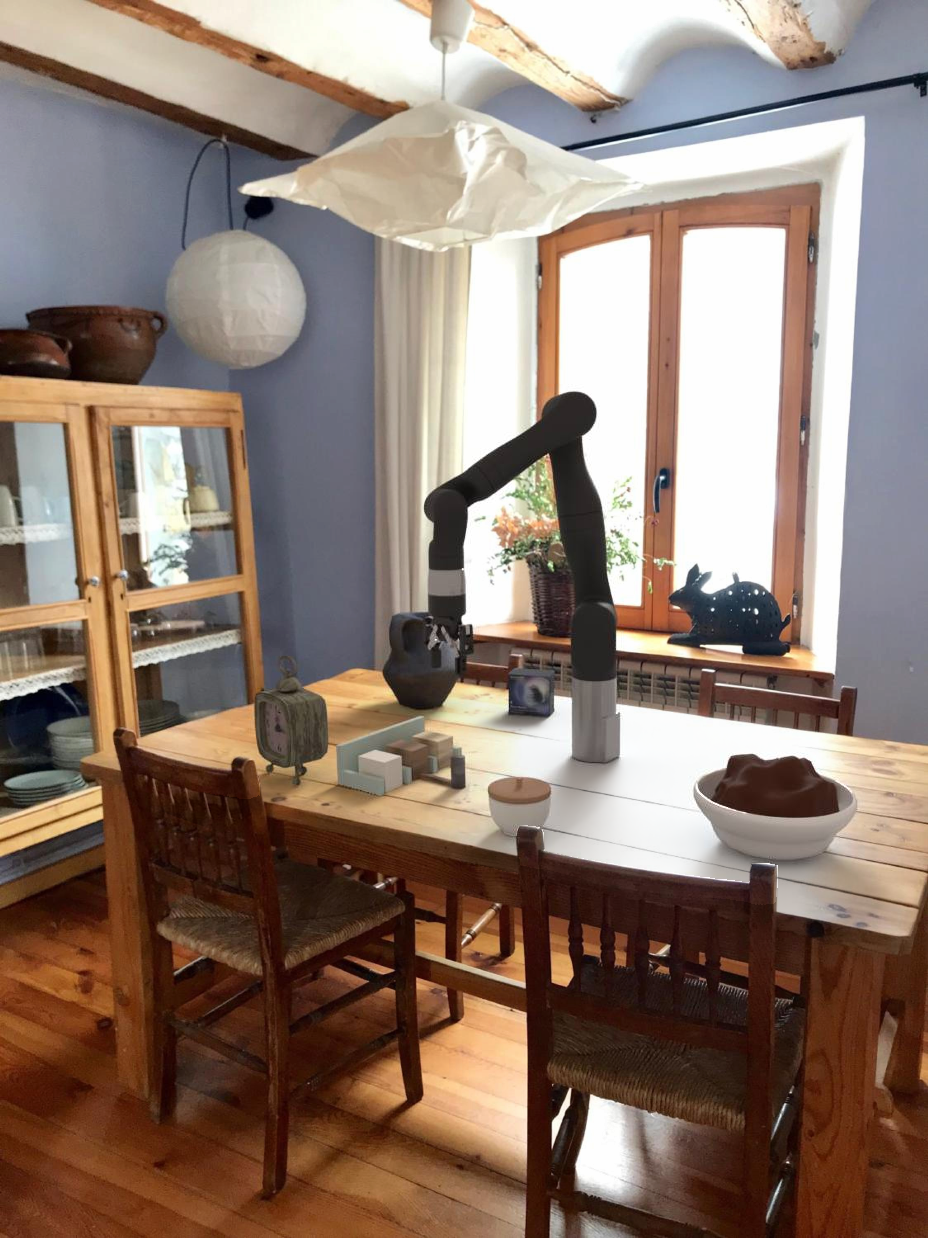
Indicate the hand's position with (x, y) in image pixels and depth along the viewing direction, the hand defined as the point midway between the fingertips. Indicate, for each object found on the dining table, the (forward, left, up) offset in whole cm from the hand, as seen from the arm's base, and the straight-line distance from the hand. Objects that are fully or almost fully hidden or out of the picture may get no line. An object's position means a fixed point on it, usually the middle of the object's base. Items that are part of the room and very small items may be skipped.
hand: (448, 671), depth 192 cm
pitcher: (+38, -35, -21) cm, 56 cm away
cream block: (+6, +15, -21) cm, 26 cm away
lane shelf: (+7, +7, -21) cm, 23 cm away
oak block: (+6, -1, -21) cm, 21 cm away
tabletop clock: (+24, +21, -21) cm, 38 cm away
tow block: (0, +7, -21) cm, 22 cm away
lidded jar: (-29, +18, -21) cm, 40 cm away
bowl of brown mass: (-66, 0, -21) cm, 70 cm away
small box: (+11, -45, -21) cm, 51 cm away
